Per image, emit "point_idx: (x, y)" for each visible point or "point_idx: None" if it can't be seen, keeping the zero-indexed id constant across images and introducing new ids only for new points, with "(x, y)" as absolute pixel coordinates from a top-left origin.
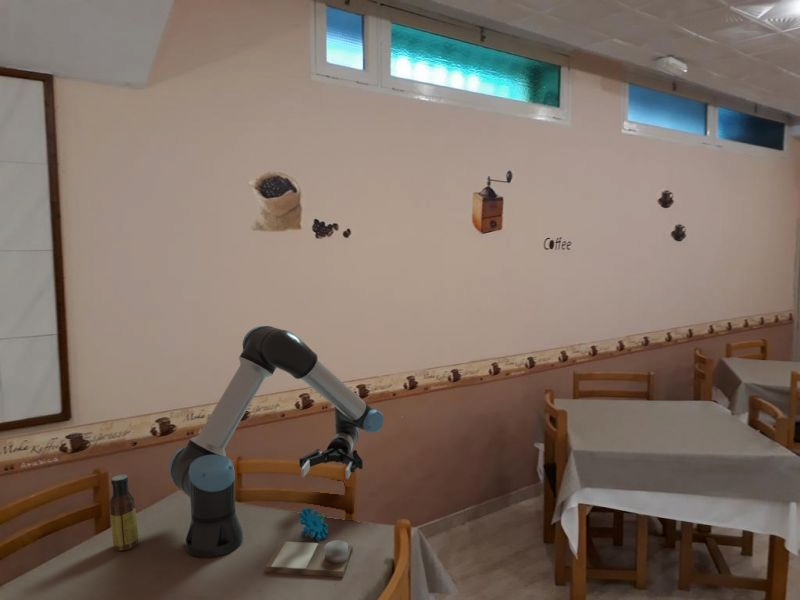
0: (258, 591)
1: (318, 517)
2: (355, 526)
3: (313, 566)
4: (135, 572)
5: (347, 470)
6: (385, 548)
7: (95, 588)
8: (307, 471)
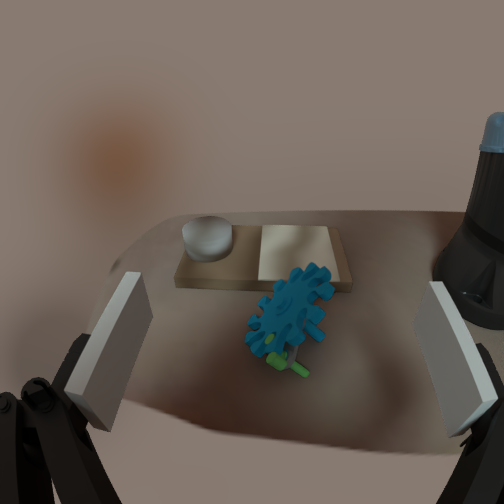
0: (322, 212)
1: (281, 329)
2: (161, 385)
3: (250, 230)
4: None
5: (130, 272)
6: (104, 295)
7: None
8: (435, 380)
